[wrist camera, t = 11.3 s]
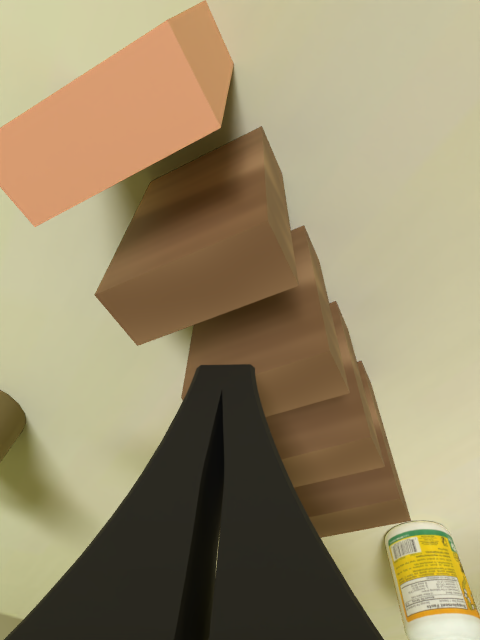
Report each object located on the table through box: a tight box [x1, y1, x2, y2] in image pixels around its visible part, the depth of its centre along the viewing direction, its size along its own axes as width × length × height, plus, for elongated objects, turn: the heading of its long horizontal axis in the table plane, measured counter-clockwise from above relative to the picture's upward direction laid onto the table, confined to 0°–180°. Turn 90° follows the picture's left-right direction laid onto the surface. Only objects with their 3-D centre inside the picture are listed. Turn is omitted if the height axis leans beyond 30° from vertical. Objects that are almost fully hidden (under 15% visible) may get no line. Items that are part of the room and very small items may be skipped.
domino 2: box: [95, 126, 299, 346], centre depth 14 cm, size 2×5×8 cm, turn 116°
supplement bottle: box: [385, 521, 480, 640], centre depth 32 cm, size 5×5×10 cm
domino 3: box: [181, 226, 350, 417], centre depth 17 cm, size 2×5×8 cm, turn 116°
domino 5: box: [294, 361, 411, 538], centre depth 22 cm, size 2×5×8 cm, turn 116°
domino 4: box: [265, 301, 385, 487], centre depth 19 cm, size 2×5×8 cm, turn 116°
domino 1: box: [0, 0, 234, 227], centre depth 12 cm, size 2×5×8 cm, turn 117°
